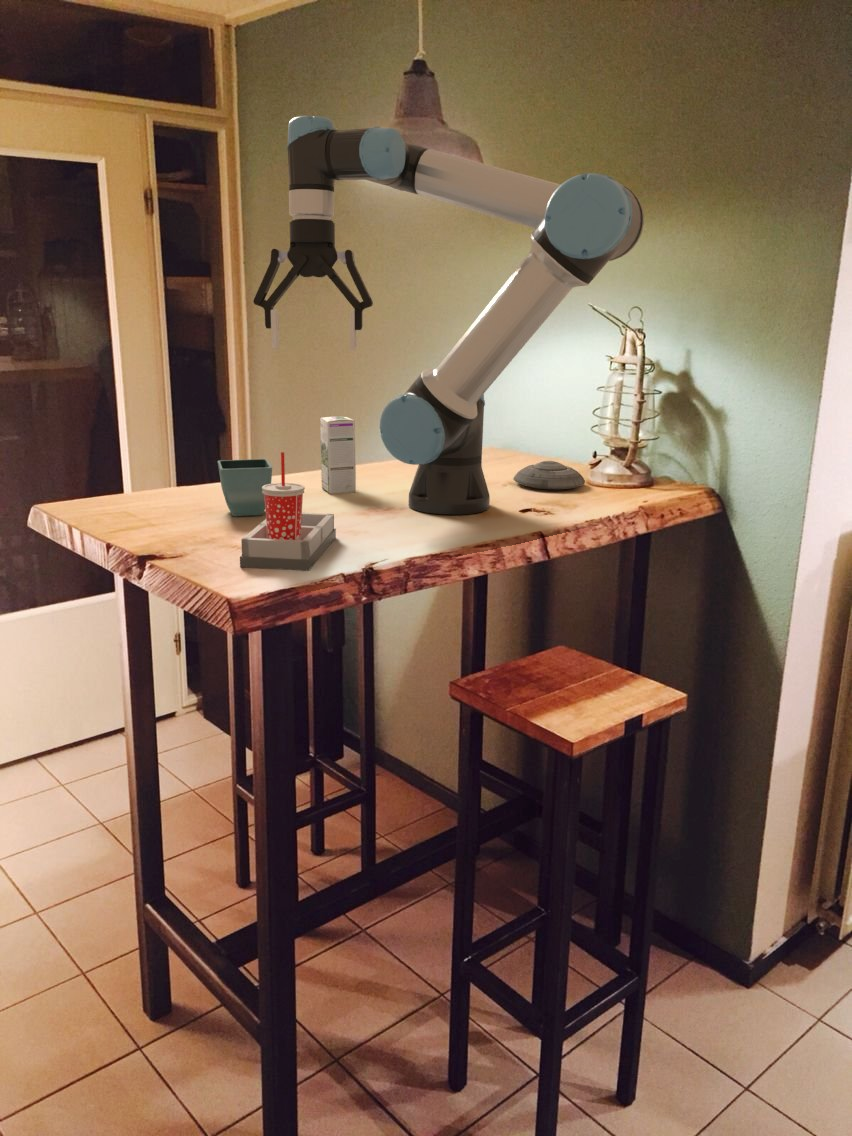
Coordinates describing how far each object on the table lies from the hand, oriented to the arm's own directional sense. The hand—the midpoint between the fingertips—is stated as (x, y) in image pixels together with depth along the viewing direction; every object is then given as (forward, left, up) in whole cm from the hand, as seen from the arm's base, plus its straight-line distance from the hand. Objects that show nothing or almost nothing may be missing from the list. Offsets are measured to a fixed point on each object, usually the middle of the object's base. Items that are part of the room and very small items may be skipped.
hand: (314, 349), depth 162 cm
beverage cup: (-3, +34, -27) cm, 43 cm away
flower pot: (+11, +6, -29) cm, 31 cm away
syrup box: (-1, -17, -29) cm, 33 cm away
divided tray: (-3, +29, -28) cm, 41 cm away
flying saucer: (-43, -32, -29) cm, 61 cm away
